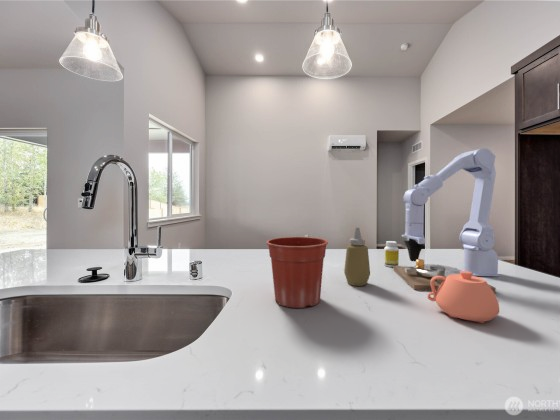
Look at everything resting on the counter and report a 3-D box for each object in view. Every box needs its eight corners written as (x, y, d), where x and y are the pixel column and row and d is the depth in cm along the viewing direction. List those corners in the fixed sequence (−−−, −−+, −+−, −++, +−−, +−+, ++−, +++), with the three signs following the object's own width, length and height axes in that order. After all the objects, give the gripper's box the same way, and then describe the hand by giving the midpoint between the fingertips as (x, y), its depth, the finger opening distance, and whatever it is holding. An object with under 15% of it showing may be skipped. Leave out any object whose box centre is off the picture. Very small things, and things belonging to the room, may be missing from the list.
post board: (456, 272, 99) (456, 257, 99) (495, 293, 77) (496, 274, 77) (393, 270, 102) (393, 255, 102) (414, 289, 80) (414, 271, 80)
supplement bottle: (400, 267, 106) (401, 242, 105) (386, 267, 106) (387, 242, 105) (395, 264, 111) (395, 240, 111) (381, 264, 111) (382, 240, 111)
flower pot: (258, 294, 77) (258, 238, 76) (308, 286, 84) (308, 235, 83) (281, 317, 62) (281, 248, 61) (340, 306, 68) (341, 243, 68)
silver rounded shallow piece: (449, 268, 95) (450, 256, 95) (472, 280, 81) (472, 266, 81) (399, 266, 98) (399, 255, 97) (413, 278, 84) (413, 264, 84)
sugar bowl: (503, 332, 55) (505, 283, 54) (425, 317, 62) (426, 273, 62) (494, 311, 65) (495, 269, 65) (428, 299, 72) (429, 262, 72)
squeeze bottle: (371, 281, 88) (372, 226, 87) (368, 289, 81) (369, 229, 80) (346, 278, 92) (346, 226, 91) (341, 285, 84) (341, 228, 83)
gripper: (396, 221, 103) (396, 256, 103) (409, 224, 89) (408, 265, 89) (416, 221, 102) (415, 256, 102) (432, 224, 88) (431, 266, 88)
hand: (413, 260), depth 96 cm, fingers closed
